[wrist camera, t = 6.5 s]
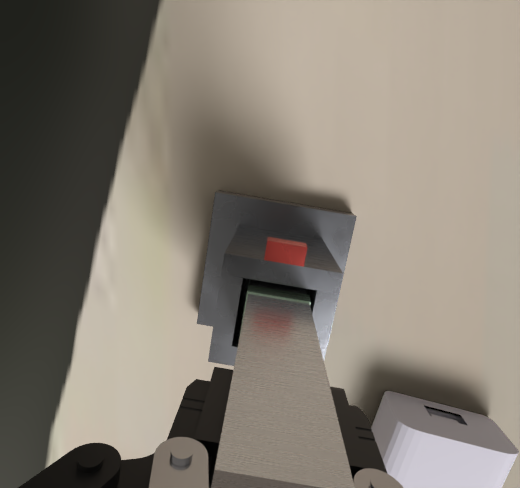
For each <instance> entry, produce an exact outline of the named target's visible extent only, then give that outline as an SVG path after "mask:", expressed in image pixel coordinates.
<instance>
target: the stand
mask: <svg viewBox="0 0 520 488" xmlns="http://www.w3.org/2000/svg"><path fill="white" fill-rule="evenodd" d="M355 221H356V216H355V215H354V214H353V213H348V212H342V211H336V210H330V209H324V208H318V207H312V206H306V205H301V204H295V203H289V202H283V201H277V200H271V199H265V198H259V197H254V196H248V195H242V194H236V193H230V192H224V191H217V192H215V198H214V205H213V213H212V220H211V227H210V234H209V241H208V248H207V255H206V262H205V270H204V277H203V284H202V291H201V298H200V305H199V312H198V319H197V324H202V325H207V326H213V333H212V339H211V346H210V353H209V359H208V362H214V363H220V364H226V365H232V366H234V365H235V360H236V354H237V349H238V343H239V337H240V331H241V326H242V320H243V314H244V308H245V302H246V296H247V290H248V285H250V281H251V279H253V280H258V281H264V282H270V283H276V284H282V285H288V286H294V287H300V288H306V291H307V295H309V297H310V301H311V304H310V307H311V311H312V316H313V320H314V324H315V328H316V332H317V336H318V340H319V344H320V348H321V352H322V356H323V360H324V358H325V354H326V349H327V346H328V342H329V338H330V333H331V329H332V324H333V320H334V315H335V311H336V306H337V302H338V297H339V293H340V288H341V284H342V279H343V275H344V270H345V266H346V261H347V257H348V252H349V248H350V243H351V239H352V234H353V230H354V225H355Z"/></svg>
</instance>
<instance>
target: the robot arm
mask: <svg viewBox="0 0 520 488" xmlns="http://www.w3.org/2000/svg"><path fill="white" fill-rule="evenodd" d="M232 375H233V370H230V369H224V368H218V367H214V370H213V374H212V378H211V381H204V380H198V379H196V380H195V381H194V382H192V383H191V384H190V385H189V386H188V387H187V388H186V391H185V393H184V396H183V399H182V401H181V404H180V407H179V409H178V412H177V415H176V417H175V420H174V423H173V425H172V428H171V430H170V433H169V436H168V438H167V440H166V441H164V442H162V443H161V444H160V445H159V446H158V447H157V449H156V451H155V453H154V454H152V455H150V456H147V457H143V458H138V459H129V460H121V457H120V454H119V452H118V451H117V450H116V449H115V448H114V447H112V446H110V445H107V444H103V443H90V444H85V445H82V446H79V447H77V448H75V449H73V450H72V451H70V452H69V453H67V454H66V455H64V456H63V457H61V458H60V459H59V460H57V461H56V462H54V463H53V464H51V465H50V466H49V467H47V468H46V469H44V470H43V471H41V472H40V473H39V474H37V475H36V476H34V477H33V478H31V479H30V480H29V481H27V482H26V483H24V484H23V485H21V486H20V487H19V488H211V485H212V480H213V475H214V470H215V464H216V459H217V454H218V449H219V443H220V438H221V433H222V428H223V422H224V417H225V412H226V407H227V401H228V396H229V391H230V386H231V381H232ZM330 389H331V393H332V397H333V401H334V405H335V409H336V413H337V417H338V421H339V426H340V430H341V434H342V438H343V442H344V446H345V450H346V454H347V458H348V462H349V466H350V470H351V474H352V479H353V483H354V487H355V488H403V486H402V485H401V484H400V483H399V482H398V481H397V480H396V479H395V478H393V477H392V476H390V475H389V474H388V473H387V471H386V468H385V465H384V462H383V459H382V457H381V454H380V451H379V448H378V446H377V443H376V442H375V437H374V434H373V432H372V429H371V426H370V423H369V420H368V418H367V417H366V416H365V414H364V413H363V412H362V411H361V410H360V409H359V408H358V407H356V406H350V405H349V404H348V401H347V398H346V394H345V391H344V389H341V388H335V387H330Z"/></svg>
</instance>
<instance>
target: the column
mask: <svg viewBox="0 0 520 488" xmlns="http://www.w3.org/2000/svg"><path fill="white" fill-rule="evenodd" d="M310 304H311V301H310V297H309V295H307V291H306V288H300V287H294V286H288V285H282V284H276V283H270V282H264V281H258V280H253V279H251V281H250V285H248V290H247V296H246V302H245V308H244V314H243V320H242V326H241V331H240V337H239V343H238V349H237V354H236V360H235V365H234V370H233V375H232V381H231V386H230V391H229V396H228V401H227V407H226V412H225V417H224V422H223V428H222V433H221V438H220V443H219V449H218V454H217V459H216V464H215V470H214V475H213V480H212V485H211V488H355V487H354V483H353V479H352V474H351V470H350V466H349V462H348V458H347V454H346V450H345V446H344V442H343V438H342V434H341V430H340V426H339V421H338V417H337V413H336V409H335V405H334V401H333V397H332V393H331V389H330V385H329V381H328V377H327V373H326V368H325V364H324V360H323V356H322V352H321V348H320V344H319V340H318V336H317V332H316V328H315V324H314V320H313V316H312V311H311V307H310Z"/></svg>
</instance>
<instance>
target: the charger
mask: <svg viewBox="0 0 520 488" xmlns="http://www.w3.org/2000/svg"><path fill="white" fill-rule="evenodd" d="M424 405H425V406H429V407H432V408H436V409H440V410H444V411H448V412H452V413H456V414H459V415H461V416H462V417H459V416H455V415H452V414H448V413H444V412H440V411H436V410H432V409H428V408H425V407H424ZM371 429H372V432H373V434H374V437H375V442H376V443H377V446H378V448H379V451H380V454H381V457H382V459H383V462H384V465H385V468H386V471H387V473H388V474H389V475H390V476H392V477H393V478H395V479H396V480H397V481H398V482H399V483H400V484H401V485H402V486H403V488H502V486H503V484H504V482H505V480H506V477H507V475H508V473H509V471H510V469H511V467H512V465H513V463H514V461H515V459H516V457H517V455H518V453H519V451H518V449H517V448H516V447H515V446H514V445H513V443H512V442H511V441H510V440H509V439H508V437H507V436H506V435H505V434H504V433H503V431H502V430H501V429H500V428H499V427H498V425H497V424H496V423H495V422H494V421H493V420H491V419H490V418H488V417H486V416H484V415H481V414H477V413H473V412H470V411H466V410H462V409H458V408H454V407H450V406H447V405H443V404H439V403H435V402H431V401H427V400H424V399H420V398H416V397H412V396H408V395H404V394H400V393H396V392H392V391H386V392H384V395H383V398H382V400H381V403H380V406H379V408H378V411H377V414H376V416H375V419H374V422H373V424H372V427H371Z"/></svg>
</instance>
